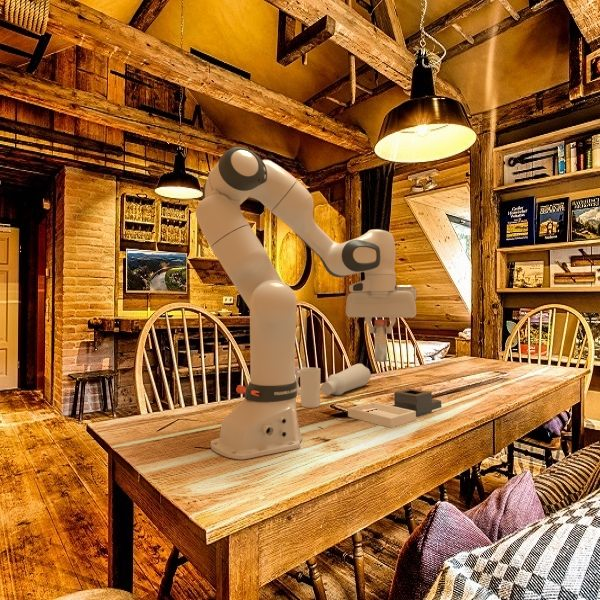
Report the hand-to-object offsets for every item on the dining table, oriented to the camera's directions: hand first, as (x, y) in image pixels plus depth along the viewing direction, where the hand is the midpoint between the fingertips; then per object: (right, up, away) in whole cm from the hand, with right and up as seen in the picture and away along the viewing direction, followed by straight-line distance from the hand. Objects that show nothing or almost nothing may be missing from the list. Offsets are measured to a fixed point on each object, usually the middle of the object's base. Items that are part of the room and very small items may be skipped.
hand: (380, 333), depth 122 cm
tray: (0, -25, 0) cm, 25 cm away
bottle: (-6, -26, +38) cm, 46 cm away
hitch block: (+14, -25, +9) cm, 30 cm away
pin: (0, -8, 0) cm, 8 cm away
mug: (-21, -25, +17) cm, 37 cm away
